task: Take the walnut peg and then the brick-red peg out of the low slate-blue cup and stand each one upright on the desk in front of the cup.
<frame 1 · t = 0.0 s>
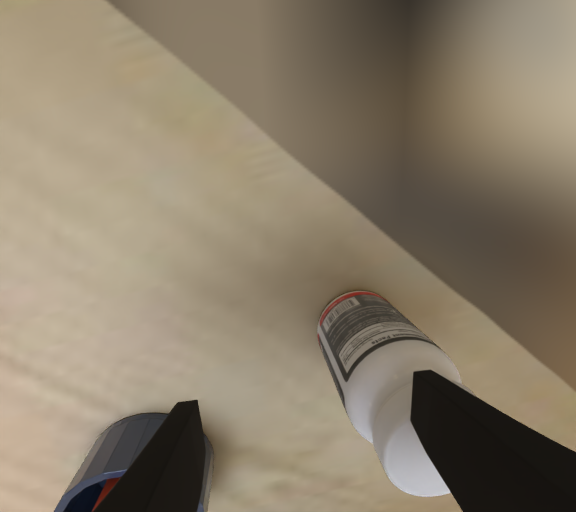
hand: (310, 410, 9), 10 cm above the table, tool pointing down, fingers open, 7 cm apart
pill bottle: (353, 323, 21), on the table
blue cup: (154, 461, 21), on the table, touching red peg, walnut peg
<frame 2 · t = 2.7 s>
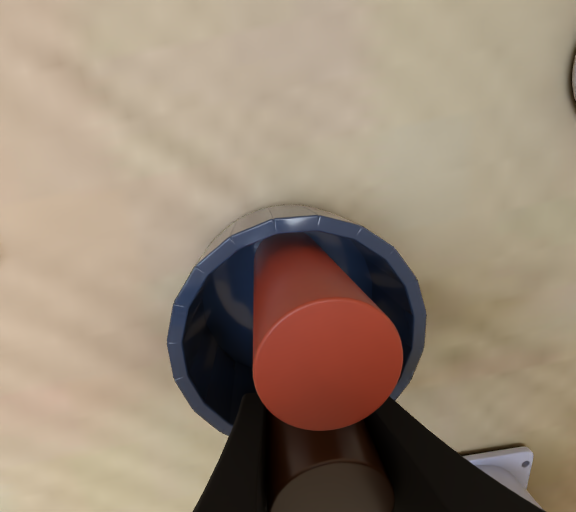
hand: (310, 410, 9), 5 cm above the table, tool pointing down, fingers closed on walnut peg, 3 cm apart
blue cup: (288, 297, 14), on the table, touching red peg, walnut peg
walnut peg: (292, 337, 14), resting on blue cup, touching gripper
red peg: (287, 262, 13), resting on blue cup
when the fingers open (4 cm above the table, at t = 6.6 s): walnut peg stays where it is, on the table.
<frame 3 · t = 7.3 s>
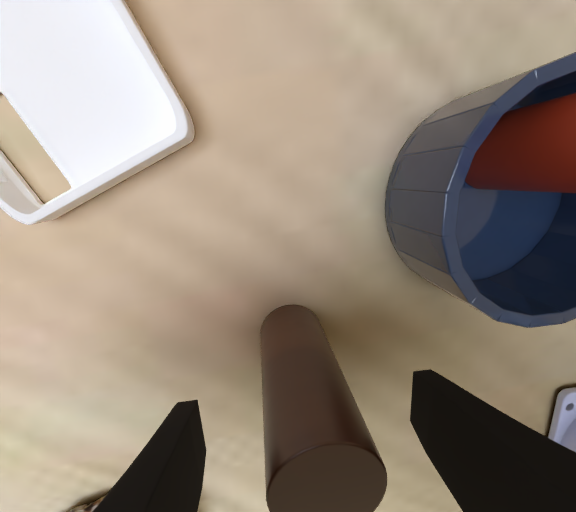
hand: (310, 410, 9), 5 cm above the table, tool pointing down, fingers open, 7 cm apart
blue cup: (475, 197, 13), on the table, touching red peg
walnut peg: (290, 332, 14), on the table
red peg: (488, 153, 12), resting on blue cup
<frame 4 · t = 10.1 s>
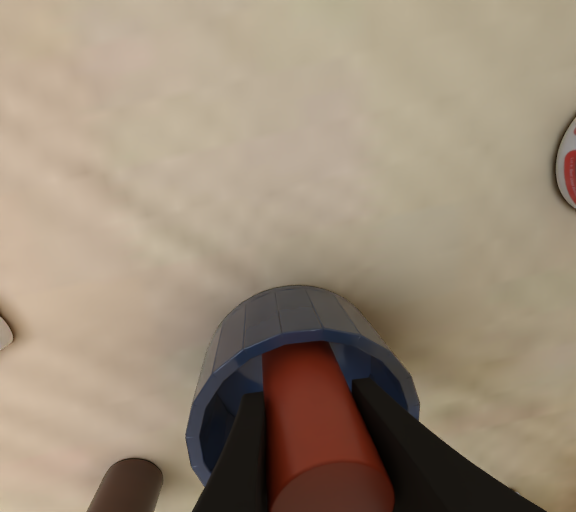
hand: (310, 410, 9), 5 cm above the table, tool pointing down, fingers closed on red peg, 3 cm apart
blue cup: (293, 365, 15), on the table, touching red peg
walnut peg: (134, 480, 15), on the table
red peg: (292, 337, 14), resting on blue cup, touching gripper
when the fingers open (4 cm above the table, at t = 13.9 s): red peg stays where it is, on the table.
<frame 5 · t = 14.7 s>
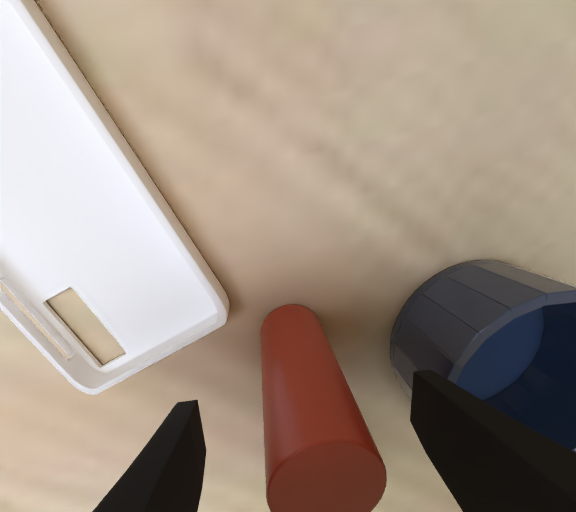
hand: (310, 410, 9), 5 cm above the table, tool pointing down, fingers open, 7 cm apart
blue cup: (467, 338, 15), on the table
red peg: (290, 331, 14), on the table
phone case: (62, 202, 12), on the table
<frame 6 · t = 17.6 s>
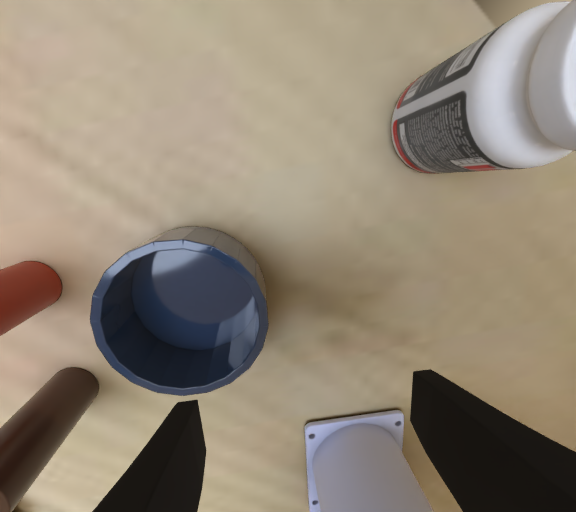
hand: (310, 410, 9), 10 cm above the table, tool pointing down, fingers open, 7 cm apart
pill bottle: (429, 126, 18), on the table
blue cup: (198, 292, 19), on the table
walnut peg: (75, 386, 19), on the table
red peg: (35, 284, 17), on the table
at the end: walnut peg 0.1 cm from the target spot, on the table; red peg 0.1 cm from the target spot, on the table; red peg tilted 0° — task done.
